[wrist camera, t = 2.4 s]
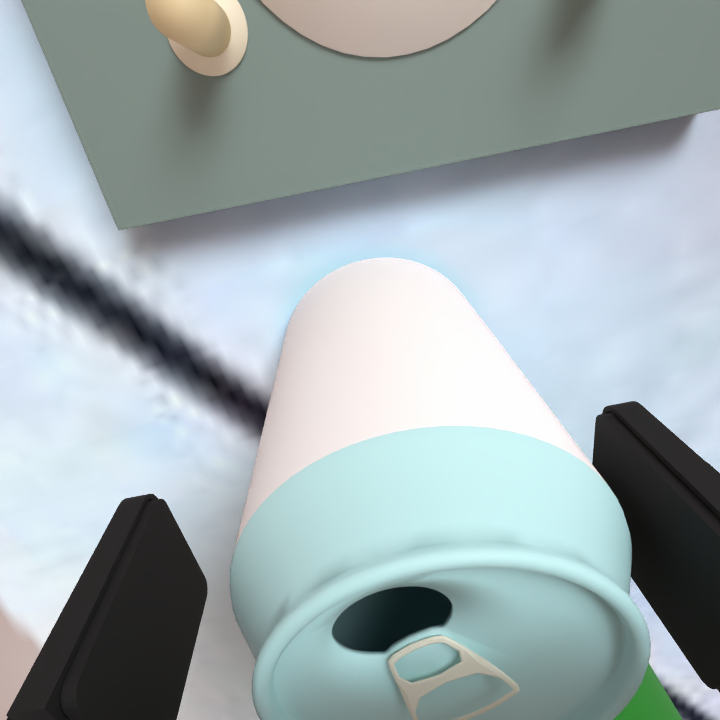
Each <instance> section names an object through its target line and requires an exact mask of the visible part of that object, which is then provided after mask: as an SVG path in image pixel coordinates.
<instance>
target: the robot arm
mask: <svg viewBox="0 0 720 720" xmlns="http://www.w3.org/2000/svg"><path fill="white" fill-rule="evenodd" d="M592 465H593V466H594V467H595V469H596V470H597V471H598V473H599V474H600V475H601V477H602V478H603V479H604V481H605V482H606V483H607V484H608V486H609V487H610V489H611V490H612V492H613V493H614V495H615V496H616V498H617V499H618V502H619V504H620V506H621V508H622V510H623V512H624V516H625V519H626V522H627V525H628V528H629V532H630V537H631V544H632V565H631V577H632V579H633V580H634V582H635V583H636V585H637V586H638V588H639V589H640V591H641V592H642V594H643V595H644V596H645V598H646V599H647V601H648V602H649V604H650V605H651V607H652V608H653V610H654V611H655V613H656V614H657V616H658V617H659V618H660V620H661V621H662V623H663V624H664V626H665V627H666V629H667V630H668V632H669V633H670V635H671V636H672V638H673V639H674V641H675V642H676V643H677V645H678V646H679V648H680V649H681V651H682V652H683V654H684V655H685V657H686V658H687V660H688V661H689V663H690V664H691V665H692V667H693V668H694V670H695V671H696V673H697V674H698V676H699V677H700V678H701V680H702V681H703V682H704V683H705V684H706V685H707V686H708V687H709V688H711V689H718V691H719V692H720V473H719V472H718V471H717V470H715V469H714V468H713V467H712V466H711V465H710V464H708V463H707V462H706V461H704V460H703V459H702V458H701V457H700V456H699V455H697V454H696V453H695V452H694V451H693V450H692V449H691V448H690V447H688V446H687V445H686V444H685V443H684V442H683V441H682V440H680V439H679V438H678V437H677V436H676V435H675V434H674V433H673V432H671V431H670V430H669V429H668V428H667V427H666V426H665V425H663V424H662V423H661V422H660V421H659V420H658V419H657V418H656V417H654V416H653V415H652V414H651V413H650V412H649V411H648V410H646V409H645V408H644V407H643V406H642V405H641V404H639V403H638V402H635V401H631V402H626V403H621V404H616V405H610V406H607V407H605V408H604V410H603V413H602V414H601V415H598V416H597V417H596V422H595V436H594V450H593V463H592ZM206 597H207V582H206V578H205V576H204V574H203V572H202V570H201V568H200V567H199V565H198V563H197V561H196V559H195V557H194V555H193V553H192V551H191V549H190V547H189V545H188V544H187V542H186V540H185V538H184V536H183V534H182V532H181V530H180V528H179V526H178V524H177V522H176V521H175V519H174V517H173V515H172V513H171V511H170V509H169V507H168V505H167V503H166V502H165V500H163V499H158V498H157V497H156V496H155V495H154V494H147V495H142V496H137V497H131V498H126V499H124V500H122V502H121V503H120V504H119V506H118V508H117V510H116V512H115V514H114V515H113V517H112V519H111V521H110V523H109V525H108V527H107V528H106V530H105V532H104V534H103V536H102V538H101V540H100V542H99V543H98V545H97V547H96V549H95V551H94V553H93V555H92V556H91V558H90V560H89V562H88V564H87V566H86V568H85V570H84V571H83V573H82V575H81V577H80V579H79V581H78V583H77V584H76V586H75V588H74V590H73V592H72V594H71V596H70V597H69V599H68V601H67V603H66V605H65V607H64V609H63V611H62V612H61V614H60V616H59V618H58V620H57V622H56V624H55V625H54V627H53V629H52V631H51V633H50V635H49V637H48V639H47V640H46V642H45V644H44V646H43V648H42V650H41V652H40V653H39V656H38V657H37V659H36V661H35V663H34V665H33V667H32V668H31V670H30V672H29V674H28V676H27V678H26V680H25V681H24V683H23V685H22V687H21V689H20V691H19V693H18V695H17V697H16V698H15V700H14V702H13V704H12V706H11V708H10V709H9V711H8V713H7V716H8V718H7V720H176V719H177V715H178V711H179V707H180V703H181V699H182V695H183V691H184V687H185V683H186V679H187V674H188V670H189V666H190V662H191V658H192V654H193V650H194V646H195V642H196V638H197V634H198V630H199V626H200V622H201V618H202V614H203V610H204V606H205V601H206Z"/></svg>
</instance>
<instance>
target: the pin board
mask: <svg viewBox="0 0 720 720" xmlns="http://www.w3.org/2000/svg"><path fill="white" fill-rule="evenodd" d="M22 3H23V5H24V7H25V10H26V12H27V15H28V17H29V19H30V22H31V24H32V26H33V29H34V31H35V34H36V36H37V38H38V41H39V43H40V45H41V48H42V50H43V53H44V55H45V57H46V60H47V62H48V64H49V67H50V69H51V72H52V74H53V76H54V79H55V81H56V83H57V86H58V88H59V91H60V93H61V95H62V98H63V100H64V102H65V105H66V107H67V110H68V112H69V114H70V117H71V119H72V121H73V124H74V126H75V129H76V131H77V133H78V136H79V138H80V140H81V143H82V145H83V148H84V150H85V152H86V155H87V157H88V159H89V162H90V164H91V167H92V169H93V171H94V174H95V176H96V178H97V181H98V183H99V186H100V188H101V190H102V193H103V195H104V197H105V200H106V202H107V205H108V207H109V209H110V212H111V214H112V216H113V219H114V221H115V224H116V226H117V228H118V230H123V229H128V228H132V227H137V226H142V225H147V224H152V223H157V222H162V221H167V220H172V219H177V218H182V217H187V216H192V215H197V214H202V213H207V212H212V211H217V210H222V209H227V208H232V207H237V206H242V205H247V204H252V203H256V202H261V201H266V200H271V199H276V198H281V197H286V196H291V195H296V194H301V193H306V192H311V191H316V190H321V189H326V188H331V187H336V186H341V185H346V184H351V183H356V182H361V181H366V180H371V179H376V178H380V177H385V176H390V175H395V174H400V173H405V172H410V171H415V170H420V169H425V168H430V167H435V166H440V165H445V164H450V163H455V162H460V161H465V160H470V159H475V158H480V157H485V156H490V155H495V154H500V153H504V152H509V151H514V150H519V149H524V148H529V147H534V146H539V145H544V144H549V143H554V142H559V141H564V140H569V139H574V138H579V137H584V136H589V135H594V134H599V133H604V132H609V131H614V130H619V129H624V128H628V127H633V126H638V125H643V124H648V123H653V122H658V121H663V120H668V119H673V118H678V117H683V116H688V115H693V114H698V113H703V112H708V111H713V110H718V109H720V0H22Z"/></svg>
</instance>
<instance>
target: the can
mask: <svg viewBox="0 0 720 720" xmlns="http://www.w3.org/2000/svg"><path fill="white" fill-rule="evenodd" d="M631 565H632V544H631V537H630V532H629V528H628V525H627V522H626V519H625V516H624V512H623V510H622V508H621V506H620V504H619V502H618V499H617V498H616V496H615V495H614V493H613V492H612V490H611V489H610V487H609V486H608V484H607V483H606V482H605V481H604V479H603V478H602V477H601V475H600V474H599V473H598V471H597V470H596V469H595V467H594V466H593V465H592V463H591V462H590V461H589V460H588V458H587V457H586V456H585V454H584V453H583V452H582V450H581V449H580V448H579V446H578V445H577V444H576V442H575V441H574V440H573V439H572V437H571V436H570V435H569V433H568V432H567V431H566V429H565V428H564V427H563V425H562V424H561V423H560V421H559V420H558V419H557V418H556V416H555V415H554V414H553V412H552V411H551V410H550V408H549V407H548V406H547V404H546V403H545V402H544V400H543V399H542V398H541V397H540V395H539V394H538V393H537V391H536V390H535V389H534V387H533V386H532V385H531V383H530V382H529V381H528V379H527V378H526V377H525V376H524V374H523V373H522V372H521V370H520V369H519V368H518V366H517V365H516V364H515V362H514V361H513V360H512V358H511V357H510V356H509V355H508V353H507V352H506V351H505V349H504V348H503V347H502V345H501V344H500V343H499V341H498V340H497V339H496V337H495V336H494V335H493V334H492V332H491V331H490V330H489V328H488V327H487V326H486V324H485V323H484V322H483V320H482V319H481V318H480V316H479V315H478V314H477V313H476V311H475V310H474V309H473V307H472V306H471V305H470V303H469V302H468V301H467V299H466V298H465V297H464V295H463V294H462V293H461V292H460V290H459V289H458V288H457V287H456V286H455V285H454V284H453V283H452V282H451V281H450V280H449V279H447V278H446V277H445V276H443V275H442V274H441V273H439V272H437V271H435V270H434V269H432V268H430V267H428V266H425V265H423V264H420V263H417V262H414V261H410V260H406V259H399V258H371V259H366V260H361V261H357V262H353V263H350V264H348V265H345V266H343V267H340V268H338V269H336V270H334V271H332V272H331V273H329V274H328V275H326V276H325V277H323V278H322V279H321V280H319V281H318V282H317V283H316V284H315V285H313V286H312V287H311V288H310V289H309V290H308V291H307V293H306V294H305V295H304V296H303V297H302V299H301V300H300V302H299V303H298V305H297V306H296V308H295V310H294V312H293V314H292V316H291V319H290V321H289V324H288V327H287V331H286V335H285V339H284V343H283V348H282V352H281V356H280V360H279V364H278V369H277V373H276V377H275V381H274V385H273V390H272V394H271V398H270V402H269V406H268V410H267V415H266V419H265V423H264V427H263V431H262V436H261V440H260V444H259V448H258V452H257V457H256V461H255V465H254V469H253V473H252V477H251V482H250V486H249V490H248V494H247V498H246V503H245V507H244V511H243V515H242V519H241V524H240V528H239V532H238V536H237V540H236V544H235V549H234V553H233V557H232V563H231V569H230V592H231V600H232V606H233V611H234V614H235V617H236V621H237V623H238V625H239V627H240V629H241V631H242V633H243V635H244V638H245V640H246V642H247V644H248V646H249V648H250V650H251V652H252V654H253V656H254V658H255V660H256V663H255V668H254V673H253V678H252V696H253V703H254V706H255V709H256V712H257V714H258V716H259V718H260V720H613V719H614V718H615V717H616V716H617V715H619V714H620V713H621V711H622V710H623V709H624V708H625V707H626V706H627V705H628V704H629V702H630V701H631V699H632V698H633V697H634V695H635V694H636V692H637V690H638V688H639V687H640V685H641V683H642V680H643V678H644V675H645V672H646V670H647V667H648V662H649V658H650V646H651V643H650V635H649V630H648V627H647V624H646V621H645V619H644V617H643V615H642V614H641V612H640V610H639V608H638V607H637V605H636V604H635V603H634V601H633V600H632V599H631V597H630V596H629V593H630V579H631Z"/></svg>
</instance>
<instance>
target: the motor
mask: <svg viewBox="0 0 720 720" xmlns="http://www.w3.org/2000/svg"><path fill="white" fill-rule="evenodd" d="M613 720H682V718H681V716H680V715H679V713H678V711H677V710H676V708H675V706H674V705H673V703H672V701H671V700H670V698H669V696H668V695H667V693H666V691H665V690H664V688H663V686H662V685H661V683H660V681H659V680H658V678H657V676H656V675H655V673H654V671H653V670H652V668H651V666H650V665H649V663H648V667H647V670H646V672H645V675H644V678H643V680H642V683H641V685H640V687H639V688H638V690H637V692H636V694H635V695H634V697H633V698H632V699H631V701H630V702H629V704H628V705H627V706H626V707H625V708H624V709H623V710H622V711H621V713H620V714H619V715H617V716H616V717H615V718H614V719H613Z"/></svg>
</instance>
